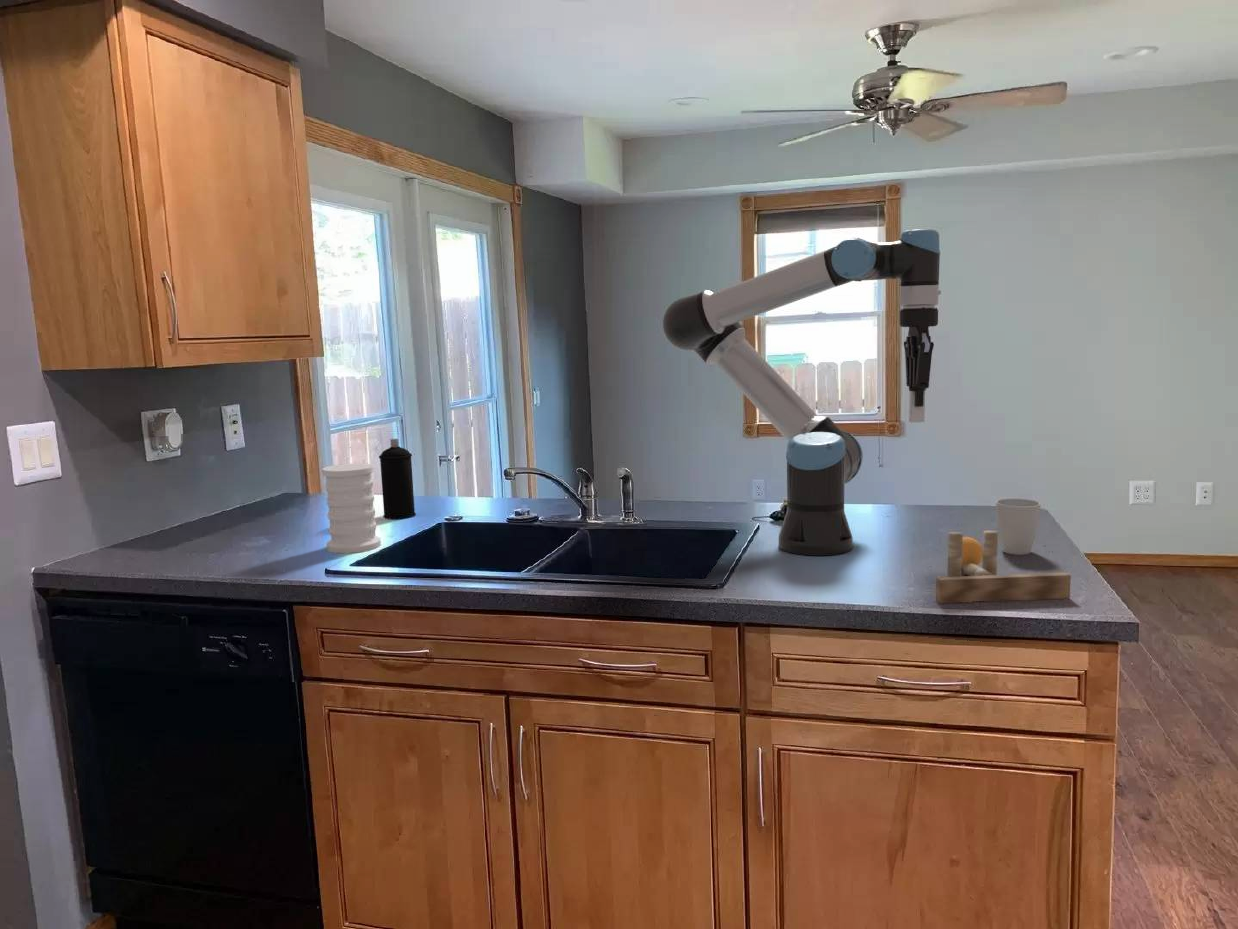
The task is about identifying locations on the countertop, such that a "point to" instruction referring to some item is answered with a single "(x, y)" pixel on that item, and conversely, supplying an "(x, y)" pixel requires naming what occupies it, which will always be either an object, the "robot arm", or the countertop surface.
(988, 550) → the rear pin left
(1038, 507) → the cup
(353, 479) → the decorative container
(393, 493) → the aerosol can
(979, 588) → the back wall
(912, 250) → the robot arm
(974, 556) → the ball
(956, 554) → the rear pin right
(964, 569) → the front pin
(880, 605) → the countertop surface
